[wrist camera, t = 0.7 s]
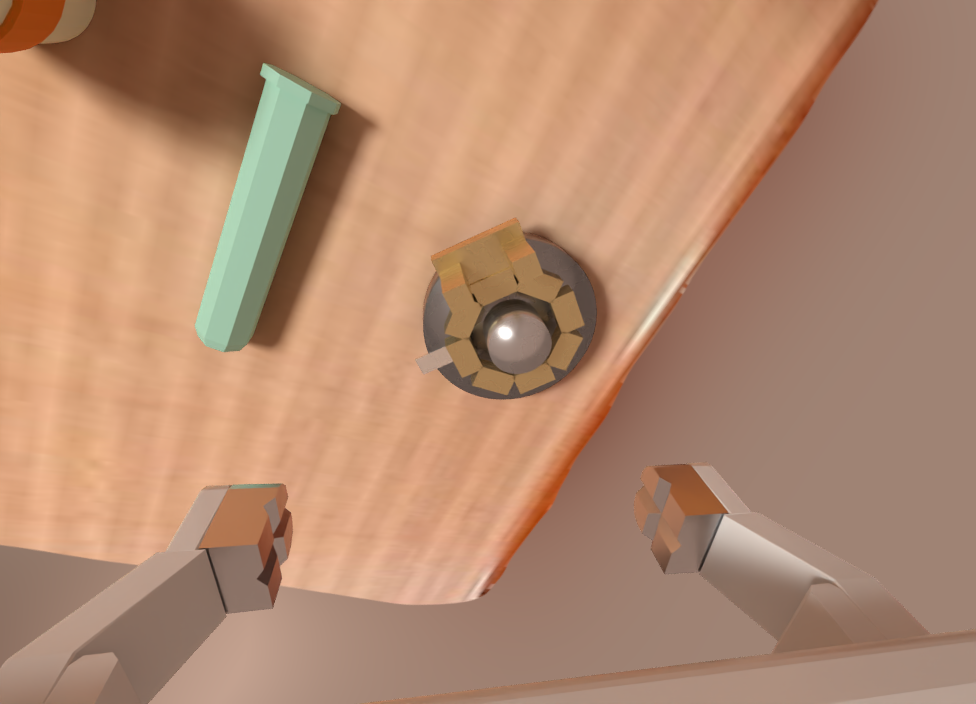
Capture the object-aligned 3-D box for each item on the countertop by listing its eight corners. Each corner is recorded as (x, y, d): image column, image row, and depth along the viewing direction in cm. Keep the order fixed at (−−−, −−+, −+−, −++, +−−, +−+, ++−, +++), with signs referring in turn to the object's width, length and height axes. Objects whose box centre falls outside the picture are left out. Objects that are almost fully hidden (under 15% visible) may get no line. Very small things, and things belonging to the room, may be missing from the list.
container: (223, 370, 41) (315, 95, 32) (169, 336, 42) (244, 53, 32) (266, 350, 47) (355, 111, 38) (218, 320, 47) (295, 74, 38)
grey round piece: (458, 203, 43) (465, 220, 36) (616, 266, 48) (647, 291, 42) (401, 361, 50) (398, 399, 44) (544, 400, 55) (561, 440, 49)
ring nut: (591, 353, 49) (616, 388, 43) (478, 401, 50) (486, 442, 44) (540, 206, 41) (562, 223, 35) (406, 267, 42) (404, 294, 36)
